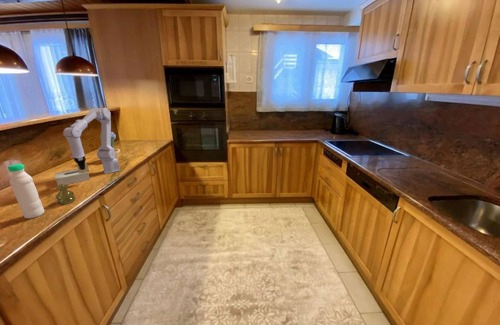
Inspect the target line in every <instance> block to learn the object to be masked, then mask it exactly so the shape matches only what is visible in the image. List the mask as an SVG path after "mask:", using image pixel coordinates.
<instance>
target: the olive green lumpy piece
mask: <svg viewBox="0 0 500 325" xmlns="http://www.w3.org/2000/svg"><path fill="white" fill-rule="evenodd" d="M68 187H69V184H68V185H67V184H60V185H57V186H56V187H55V189H56V190H58V191H59V192H58V193H56V195H55V199H56V203H57V205H58V206H59V205H60V206H64V205H69V204H71V203H73V202H75V201H76V196H75V192H74V191H72V190H68V189H67V188H68Z"/></svg>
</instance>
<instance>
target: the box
mask: <svg viewBox="0 0 500 325" xmlns="http://www.w3.org/2000/svg"><path fill="white" fill-rule="evenodd" d="M54 174H55V182H56V185H57V186H58V185H60V184H67V185H68V186H69V185H72V184H76V183H81V182H85V181H90V180H91V179H90V175H89V172H85V173H80V174H79V171H78V168H75V169H69V170H64V171H59V172H55V173H54Z"/></svg>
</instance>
